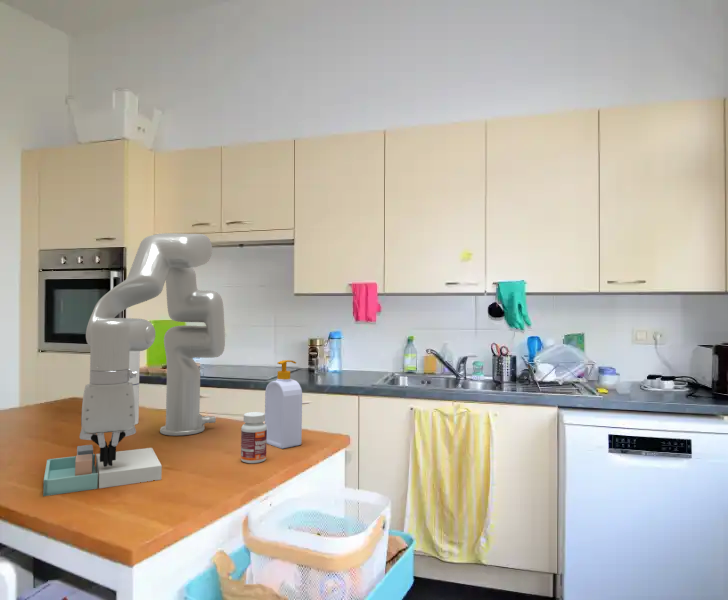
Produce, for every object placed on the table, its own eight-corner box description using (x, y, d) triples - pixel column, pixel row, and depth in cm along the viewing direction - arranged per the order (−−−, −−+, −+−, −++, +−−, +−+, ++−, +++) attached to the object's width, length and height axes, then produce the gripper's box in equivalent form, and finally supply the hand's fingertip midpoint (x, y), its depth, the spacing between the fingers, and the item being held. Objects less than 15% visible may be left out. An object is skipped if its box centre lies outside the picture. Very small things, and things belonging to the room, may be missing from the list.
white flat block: (151, 460, 125) (151, 447, 125) (161, 479, 111) (161, 465, 111) (96, 466, 119) (96, 453, 119) (99, 488, 105) (99, 473, 105)
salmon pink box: (92, 453, 110) (76, 455, 109) (92, 460, 106) (75, 461, 104) (91, 477, 110) (75, 479, 109) (91, 484, 106) (74, 486, 104)
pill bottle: (258, 465, 122) (259, 417, 123) (235, 462, 124) (236, 415, 124) (270, 458, 128) (271, 412, 129) (248, 455, 130) (249, 410, 130)
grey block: (92, 444, 118) (77, 446, 116) (93, 449, 113) (77, 451, 112) (91, 466, 117) (76, 468, 116) (92, 472, 113) (77, 474, 112)
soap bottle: (303, 444, 141) (305, 361, 141) (282, 449, 136) (284, 362, 137) (284, 438, 147) (286, 358, 148) (264, 442, 143) (265, 360, 143)
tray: (94, 467, 119) (94, 454, 119) (97, 488, 105) (97, 473, 105) (46, 472, 114) (47, 459, 114) (43, 496, 100) (43, 480, 101)
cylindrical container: (122, 427, 158) (124, 345, 159) (108, 424, 162) (110, 344, 163) (143, 423, 164) (144, 344, 165) (129, 420, 168) (131, 343, 169)
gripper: (145, 374, 116) (143, 455, 116) (69, 377, 109) (67, 464, 109) (149, 378, 110) (147, 464, 110) (69, 382, 103) (66, 474, 102)
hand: (107, 464), depth 109 cm, fingers closed
